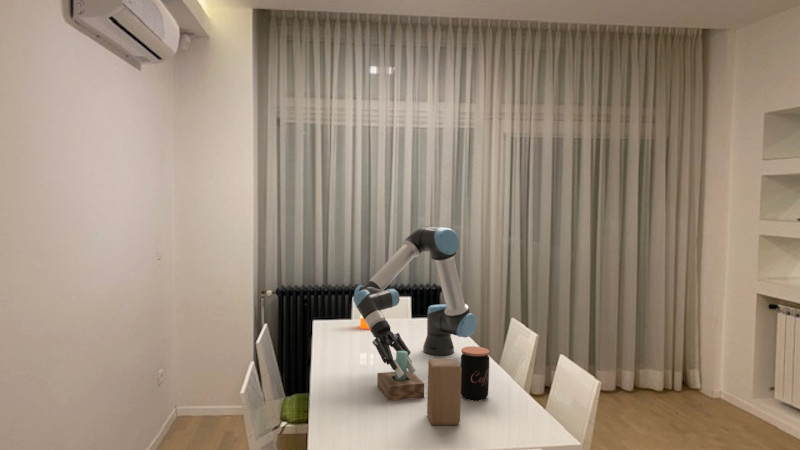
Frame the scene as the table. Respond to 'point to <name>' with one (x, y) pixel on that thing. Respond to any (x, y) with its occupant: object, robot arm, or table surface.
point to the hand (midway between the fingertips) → (407, 374)
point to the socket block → (400, 386)
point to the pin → (402, 364)
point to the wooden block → (444, 391)
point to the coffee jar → (474, 373)
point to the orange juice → (363, 324)
